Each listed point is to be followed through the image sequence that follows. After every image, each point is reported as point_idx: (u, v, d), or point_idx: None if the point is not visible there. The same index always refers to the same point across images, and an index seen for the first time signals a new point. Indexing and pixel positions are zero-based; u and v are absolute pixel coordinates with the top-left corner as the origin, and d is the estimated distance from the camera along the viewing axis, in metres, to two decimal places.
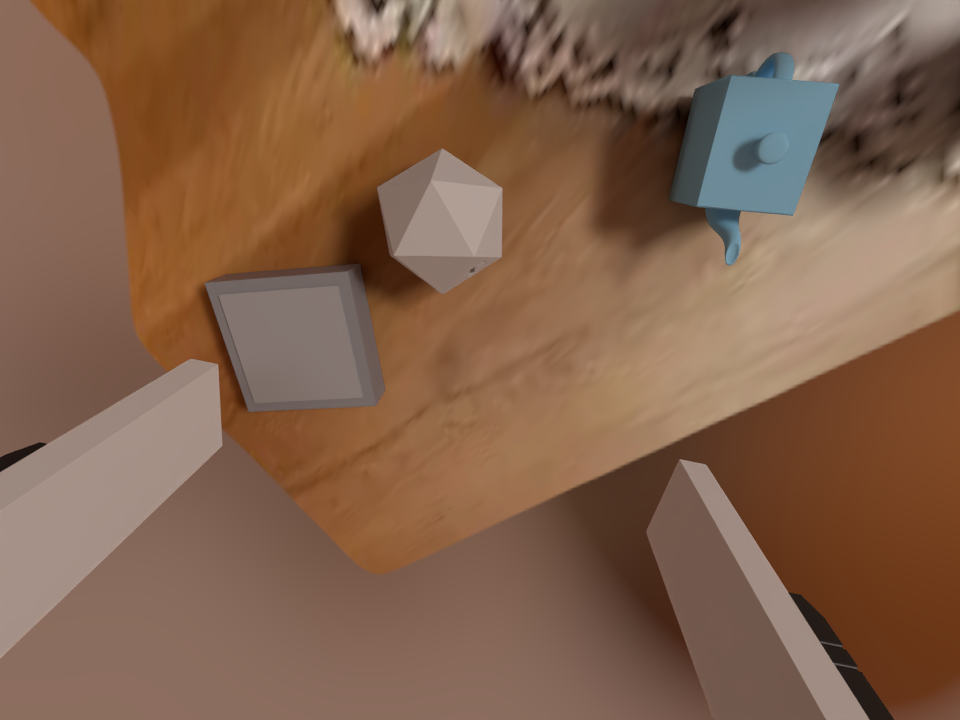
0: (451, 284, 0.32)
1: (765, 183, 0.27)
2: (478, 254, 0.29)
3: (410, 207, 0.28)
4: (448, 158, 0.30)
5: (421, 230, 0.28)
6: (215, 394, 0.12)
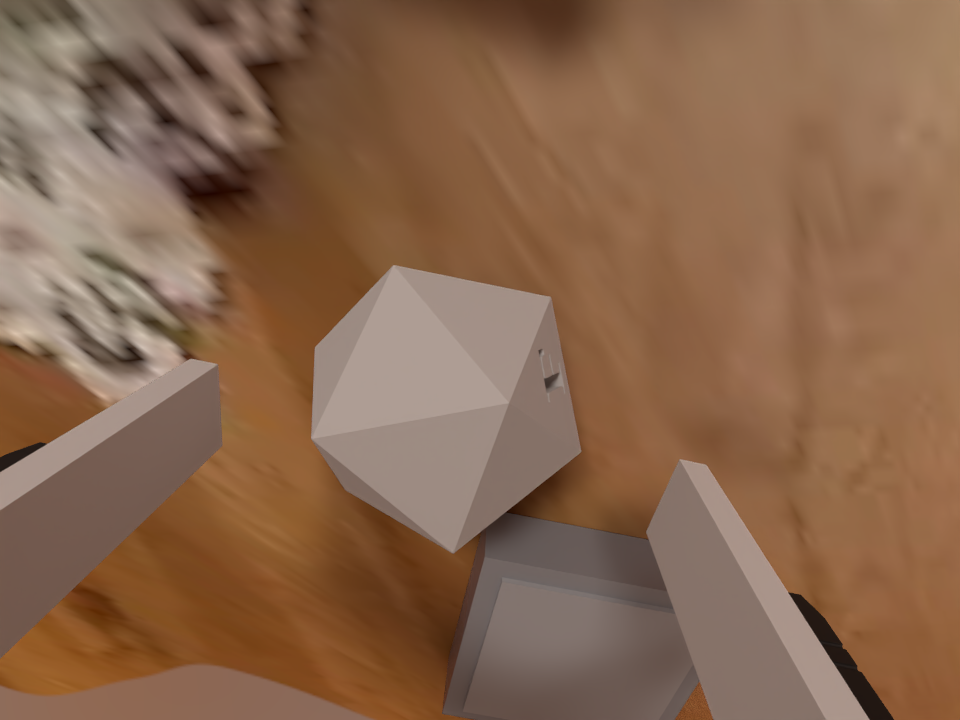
0: (565, 437, 0.14)
1: None
2: (510, 383, 0.11)
3: (366, 487, 0.13)
4: (323, 350, 0.15)
5: (415, 490, 0.12)
6: (216, 394, 0.12)
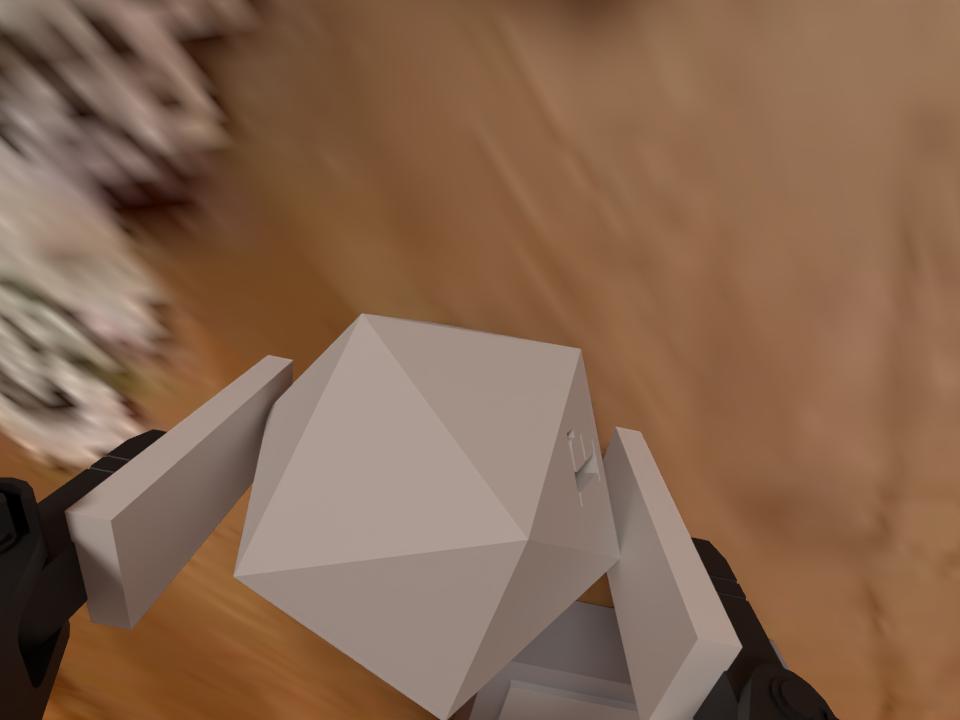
0: (602, 548, 0.10)
1: None
2: (529, 501, 0.08)
3: None
4: (274, 418, 0.11)
5: (388, 646, 0.08)
6: None
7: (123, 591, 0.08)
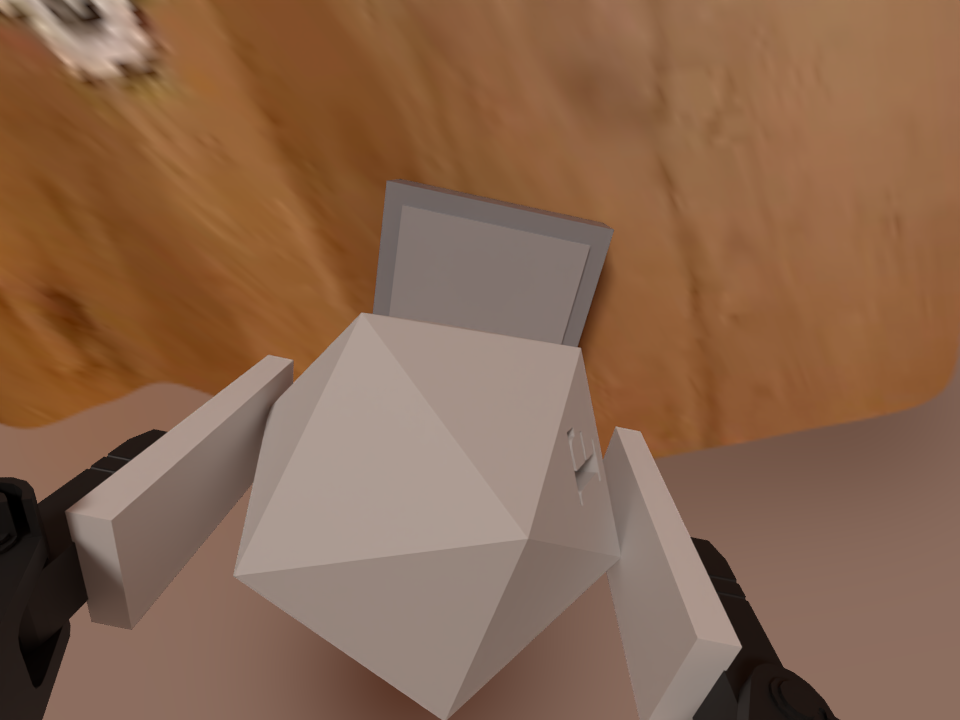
0: (602, 547, 0.10)
1: None
2: (529, 500, 0.08)
3: None
4: (275, 417, 0.11)
5: (388, 645, 0.08)
6: None
7: (124, 591, 0.08)
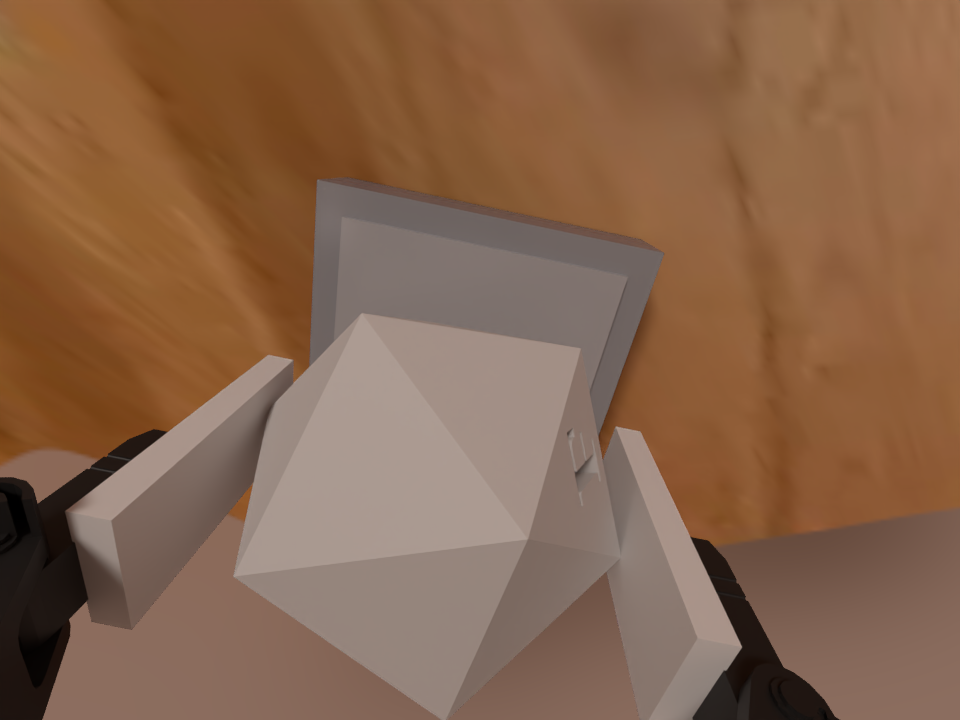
0: (602, 547, 0.10)
1: None
2: (529, 501, 0.08)
3: None
4: (275, 418, 0.11)
5: (388, 646, 0.08)
6: None
7: (124, 591, 0.08)
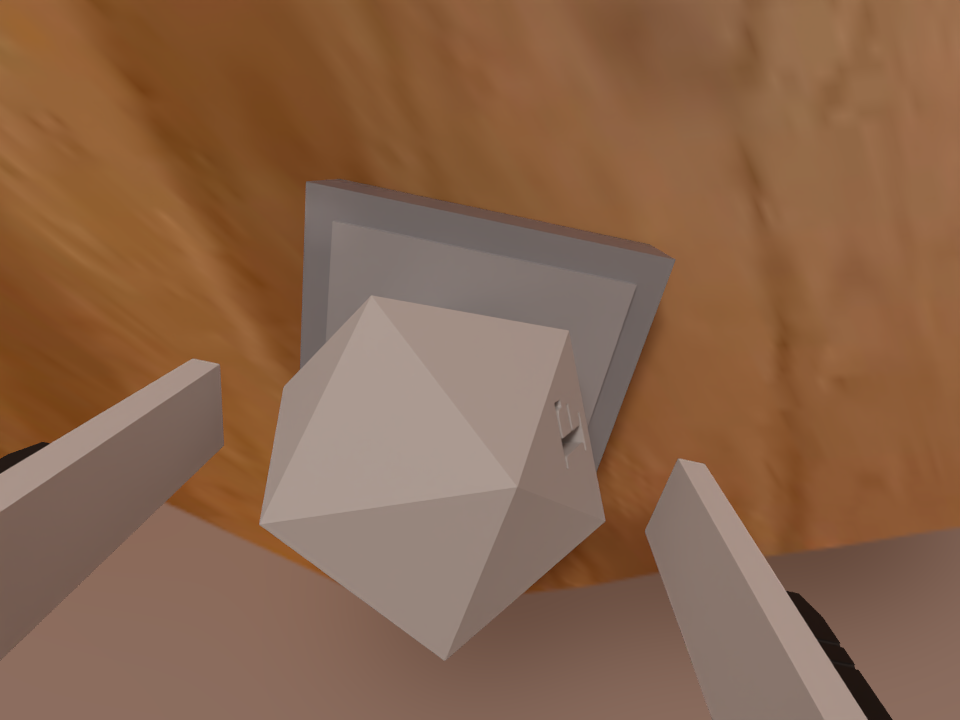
0: (587, 508, 0.11)
1: None
2: (518, 456, 0.09)
3: None
4: (290, 394, 0.12)
5: (395, 588, 0.09)
6: (218, 394, 0.12)
7: None
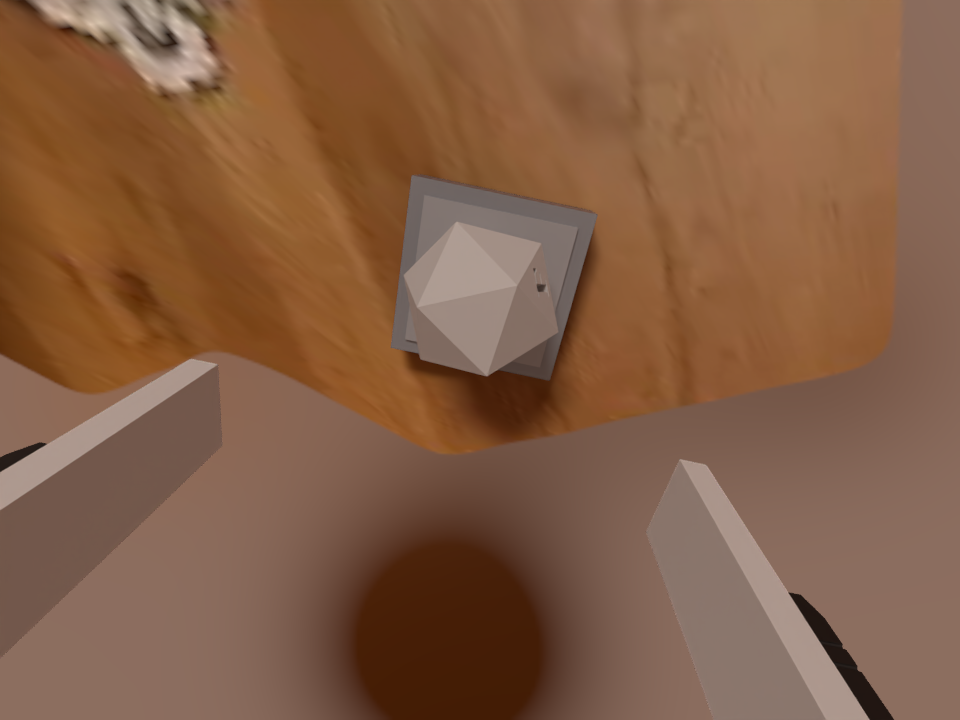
0: (548, 318, 0.25)
1: None
2: (518, 278, 0.23)
3: (441, 338, 0.24)
4: (412, 273, 0.26)
5: (468, 337, 0.23)
6: (215, 394, 0.12)
7: None
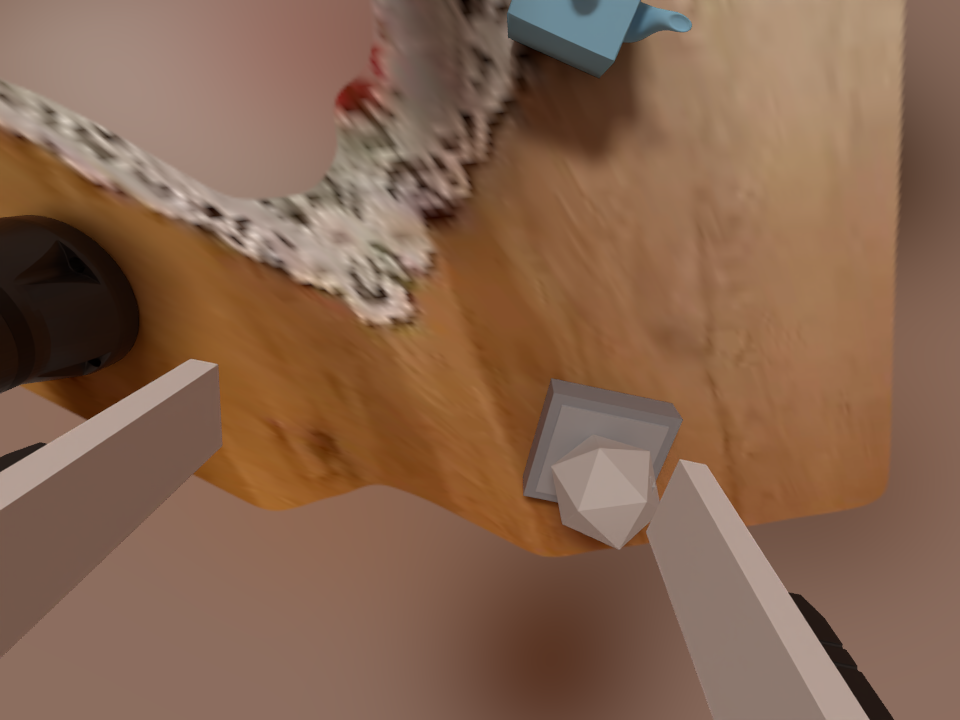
0: None
1: None
2: (645, 494, 0.35)
3: (589, 526, 0.36)
4: (561, 470, 0.38)
5: (610, 528, 0.36)
6: (215, 394, 0.12)
7: None
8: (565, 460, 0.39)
